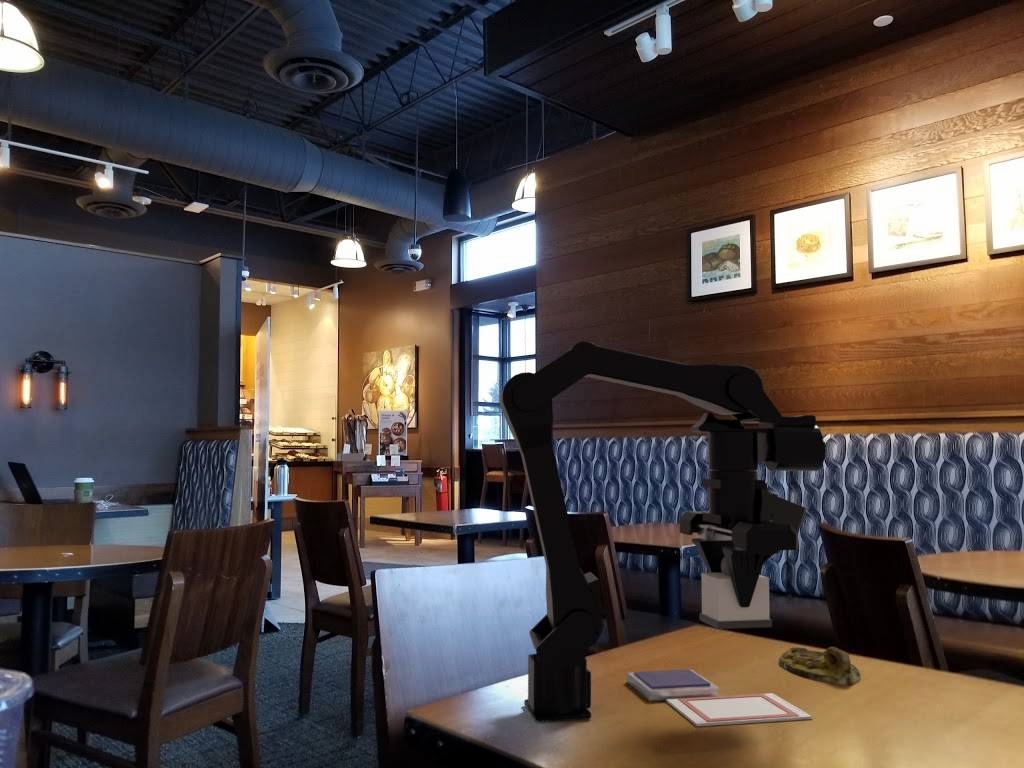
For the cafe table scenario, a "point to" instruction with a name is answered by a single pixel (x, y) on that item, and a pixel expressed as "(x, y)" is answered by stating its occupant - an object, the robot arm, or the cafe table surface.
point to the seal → (821, 665)
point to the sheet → (737, 709)
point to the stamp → (733, 602)
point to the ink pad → (671, 684)
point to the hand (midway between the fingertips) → (734, 603)
